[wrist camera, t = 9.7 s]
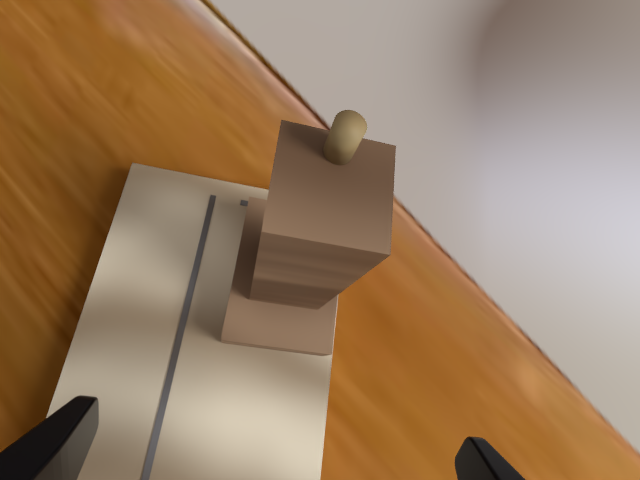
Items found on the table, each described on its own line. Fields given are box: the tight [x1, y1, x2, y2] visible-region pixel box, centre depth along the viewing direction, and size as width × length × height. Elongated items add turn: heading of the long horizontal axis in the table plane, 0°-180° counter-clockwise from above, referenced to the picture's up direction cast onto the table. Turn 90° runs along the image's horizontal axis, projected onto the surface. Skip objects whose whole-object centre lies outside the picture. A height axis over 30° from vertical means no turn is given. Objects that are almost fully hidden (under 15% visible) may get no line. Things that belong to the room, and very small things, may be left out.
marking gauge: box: [221, 110, 396, 356], centre depth 14 cm, size 7×5×12 cm
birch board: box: [46, 163, 338, 480], centre depth 19 cm, size 18×12×2 cm, turn 173°
